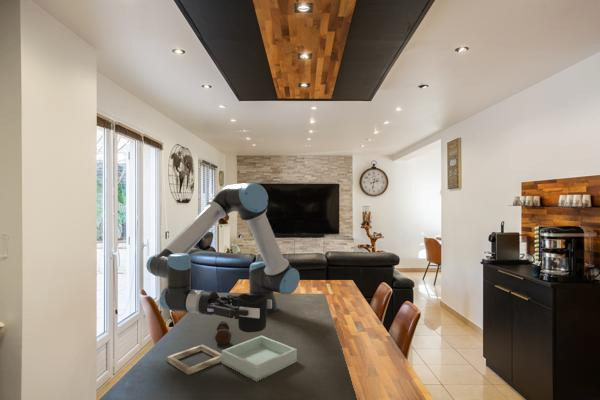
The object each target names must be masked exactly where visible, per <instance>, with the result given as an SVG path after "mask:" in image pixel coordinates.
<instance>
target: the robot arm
mask: <svg viewBox="0 0 600 400" xmlns="http://www.w3.org/2000/svg"><path fill="white" fill-rule="evenodd" d="M268 203H269V195H268V192H267V190H266V189H265V188H264V187H263V186H262V185H261V184H259V183H253V182H246V183H245V182H244V183H231V184H228V185H226V186H224V187H222V188H221V189H220V190H219V191H217V192H216V193H215V194H214V195H213V196H212V197H211V198H210V199H209V200H208V201H207V202H206V206H205V208H204V209H202V210H201V212H200V213H198V214H197V215H196V216H195V218H194V219H192V220H191V222H190V223H188V224H187V226H185V228H184V229H183V230H182V231H181V232H180V233H179V234H177V236H175V238H174V239H173V240H172V241H171V242H170V243H168V245H167V246H166V247H165V248H164V249H162V251H161V252H160V253H157V254H154V255H151V256H150V257H149V258H148V260H147V262H146V264H145V265H146V269H147V272H148V273H150V274H152V275H153V276H155V277H160V278H164V279H166V280H167V287H165V288H164V289H163V290H162V291H161V293H160V297H159V305H160V307H161V308H162V309H164V310H168V311H172V312H181V313H191V314H194V315H196V316H197V315H198V314H201V315H206V316H207V315H208V316H213V315H214V316H220V317H224V318H228V319H233V318H234V320H238V315H239V316H242V317H251V318H260V309H258V308H248V307H239V309H238V296H239V295H232V294H228V295H226V296H219V294H218V293H217V292H216V291H214V290H213V291H211V290H202V289H191V276H192V274H191V273H192V272H191V271H192V261H191V255H190V254H189V253H190V251H191V250H192V249H193V248H194V247H195V246H196V245H197V244H198V243H199V242H200V241H201V240H202V239H203V238H204V236H205V235H206V234H208V232H210V230H211V229H212V228H213V227H214V226H215V225H216V224H217V223H218V221H220V220H221V219H224V218H226V217H227V215H229V214H230V213H233V212H237V213H238V215H239V217H240V219H241V220H242V221H243V222H246V224H247V226H248V229H249V231H250V233H251V236H252V239H253V240H254V242H255V244H256V247H257V249H258V251H259V254H260V255H261V259H262V261H254V262H252V263H250V266H249V271H248V273H249V274H248V275H249V277H248V278H249V280H248V281H249V294H248V295H257V294H266V295H267V315H268V314H269V315H270V314H273V313H275V312H277V310H278V303H277V299H276V297H275V294H274V293H277V294H280V295H291V294H293V293H295V291H296V290H297V288H298V286H299V283H300V272H299V270H297V269H296V268H294V267H292V266H291V264H290V262H289V260H288V259H287V258H284V256H283V254H282V251H281V249H280V246H279V244H278V241H277V239H276V236H275V234H274V231H273V229H272V226H271V224H270V222H269V219H268V217H267V214H266V213H267V211H268Z"/></svg>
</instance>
